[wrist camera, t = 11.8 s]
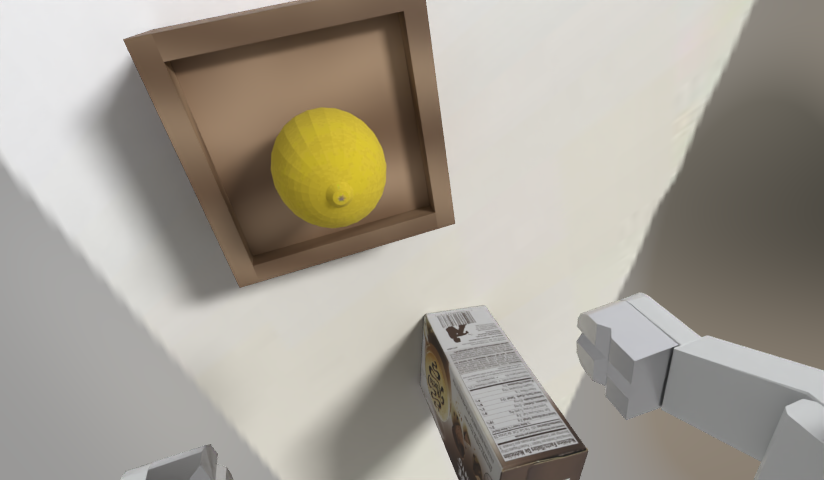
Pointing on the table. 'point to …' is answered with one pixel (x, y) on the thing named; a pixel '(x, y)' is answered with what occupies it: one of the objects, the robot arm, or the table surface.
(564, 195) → the table surface
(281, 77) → the walnut base
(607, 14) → the table surface
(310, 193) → the lemon
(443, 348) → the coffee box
